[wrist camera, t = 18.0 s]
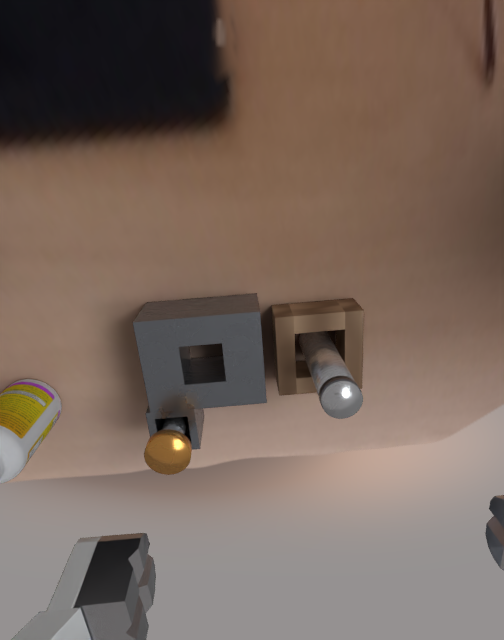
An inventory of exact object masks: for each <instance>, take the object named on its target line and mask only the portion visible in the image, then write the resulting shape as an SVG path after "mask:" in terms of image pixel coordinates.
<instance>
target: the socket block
mask: <svg viewBox="0 0 504 640" xmlns="http://www.w3.org/2000/svg"><path fill="white" fill-rule="evenodd" d="M133 326H134V331H135V336H136V341H137V346H138V352H139V357H140V362H141V367H142V372H143V377H144V382H145V387H146V393H147V398H148V403H149V406H148V408H147V411H146V418H147V423H148V428H149V433H150V437H151V436H152V435H153V434H155V433H156V432H158V431H161V430H162V428H163V424H164V421H165V418H174V417H185V416H187V424H186V429H185V436H186V437H187V438H188V439H189V440H190V442H191V446H192V449H200V445H201V437H202V430H203V422H204V411H203V408H212V407H224V406H236V405H247V404H259V403H267V400H266V387H265V373H264V359H263V345H262V331H261V318H260V308H259V303H258V297H257V293H254V294H243V295H231V296H219V297H207V298H195V299H183V300H171V301H159V302H147V303H146V304H145V305H144V307H143V308H142V310H141V311H140V313H139V314H138V316H137V317H136V318H135V320H134V321H133ZM219 343H222V348H223V356H214V357H202V358H191V356H190V349H189V346H196V345H208V344H219Z"/></svg>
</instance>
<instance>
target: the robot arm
mask: <svg viewBox="0 0 504 640" xmlns="http://www.w3.org/2000/svg"><path fill="white" fill-rule="evenodd" d="M489 509H490V511H491V512H492V513H493V515H494V516H493V517H492V518H491V519H490V520H489V522H488V523H487V525H486V539H487V543H488V547H489V549H490V552H491V554H492V556H493V558H494V559H495V561H496V562H497V564H498V565H499V567H500V568H501V569H502V570H504V495H501V496H495V497H493V499H492V500H491V501H490V507H489ZM149 545H150V543H149V541H148V536H147V534H146V533H137V534H124V535H112V536H101V537H90V538H80V539H79V540H78V542H77V543H76V544H75V545H74V548H73V550H72V552H71V554H70V557H69V559H68V561H67V564H66V566H65V569H64V571H63V573H62V576H61V578H60V581H59V583H58V585H57V587H56V590H55V592H54V595H53V597H52V599H51V602H50V604H49V606H48V608H47V611H42V612H39V613H38V614H37V615H36V616H35V617H34V618H33V619H32V620H31V621H30V622H29V623H28V624H27V625H26V626H25V627H24V628H22V629H21V631H19V632H18V634H16V635H15V636H14V637H13V638H12V639H11V640H146V638H147V632H148V622H147V618H146V612H147V611H148V610H149V608H150V607H151V606H152V605H153V599H154V593H155V578H156V574H155V565H154V560H153V558H152V557H151V556H149V555H148V549H149Z"/></svg>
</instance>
